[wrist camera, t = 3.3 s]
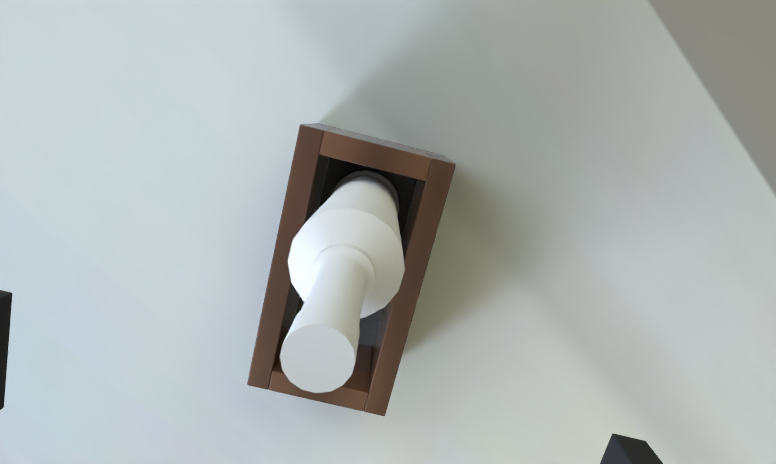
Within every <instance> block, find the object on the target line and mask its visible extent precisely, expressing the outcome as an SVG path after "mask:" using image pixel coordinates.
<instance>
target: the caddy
mask: <svg viewBox="0 0 776 464" xmlns="http://www.w3.org/2000/svg"><path fill="white" fill-rule="evenodd" d="M330 157H331V158H335V159H339V160H343V161H347V162H351V163H355V164H359V165H363V166H367V167H371V168H375V169H379V170H383V171H387V172H390V173H394V174H398V175H402V176H406V177H410V178H414V179H417V182H416V186H415V190H414V193H413V197H412V201H411V205H410V208H409V212H408V216H407V220H406V223H405V227H404V231H403V235H402V239H401V243H402V250H403V258H404V266H405V271H404V274H403V278H402V281H401V284H400V288H399V291H398V292H397V293H396V294H395V295H394V297H393V298H392V299H391V300H390V301H389V303H388V304H387V305H386V306H385V307H384V308H383V310H382V314H381V318H380V321H379V325H378V329H377V333H376V336H375V340H374V344H373V348H372V347H371V346H367V345H362V344H358V348H357V355H356V361H355V365H354V369H353V372H352V375H351V376H350V377H349V379H348V380H347V381H346V382H345V383H344V385H342V386H340V387H338V388H336V389H335V390H333V391H331V392H322V393H314V392H310V391H306V390H302V389H300V388H299V387H297V386H296V385H295V384H293V383H292V382H290V381H289V379H288V378H287V376H286V375H285V373H284V372H283V370H282V366H281V361H280V353H281V349H282V345H283V342H284V340H285V338H286V336H287V334H288V332H289V330H290V328H291V326H292V324H293V321H294V319H295V314H296V310H297V305H298V301H299V296H300V295H299V294H298V292H297V290H296V289H295V287H294V286H293V284H292V283H291V277H290V271H289V266H288V258H289V253H290V249H291V245H292V241H293V239H294V237H295V236H296V235H297V233H298V232H299V231H300V230H301V228H302V227H303V226H304V224H305V223H306V222H307V221H308V220H309V218H310V217H311V216H312V215H313V214H314V213H315V212H316V211H317V210H318V209H319V206H320V201H321V197H322V192H323V188H324V183H325V179H326V174H327V170H328V165H329V161H330ZM454 168H455V163H453V162H452V161H451V160H449V159H448V158H446V157H445V156H444V155H440V154H436V153H433V152H429V151H424V150H421V149H417V148H413V147H409V146H405V145H401V144H397V143H393V142H389V141H386V140H382V139H378V138H374V137H370V136H366V135H362V134H358V133H354V132H350V131H346V130H342V129H339V128H335V127H331V126H327V125H323V124H319V123H315V124H301V125H300V127H299V132H298V137H297V142H296V147H295V152H294V157H293V161H292V166H291V171H290V176H289V181H288V186H287V191H286V196H285V201H284V206H283V210H282V215H281V220H280V225H279V230H278V235H277V240H276V245H275V250H274V255H273V259H272V264H271V269H270V274H269V279H268V284H267V289H266V294H265V299H264V304H263V308H262V313H261V318H260V323H259V328H258V333H257V338H256V343H255V348H254V353H253V358H252V362H251V367H250V372H249V377H248V382H247V385H250V386H254V387H259V388H263V389H268V388H269V390H272V391H276V392H281V393H285V394H289V395H294V396H298V397H303V398H307V399H311V400H316V401H320V402H325V403H329V404H333V405H338V406H342V407H347V408H351V409H355V410H360V411H364V412H368V413H373V414H377V415H381V416H385V413H386V410H387V406H388V403H389V399H390V395H391V392H392V388H393V385H394V381H395V378H396V374H397V371H398V367H399V364H400V360H401V356H402V353H403V349H404V346H405V342H406V339H407V335H408V332H409V328H410V325H411V321H412V317H413V314H414V310H415V307H416V303H417V300H418V296H419V293H420V289H421V286H422V282H423V278H424V275H425V271H426V268H427V264H428V261H429V257H430V254H431V250H432V246H433V243H434V239H435V236H436V232H437V229H438V225H439V222H440V218H441V215H442V211H443V207H444V204H445V200H446V197H447V193H448V190H449V186H450V183H451V179H452V176H453V172H454Z"/></svg>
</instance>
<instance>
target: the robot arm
mask: <svg viewBox="0 0 776 464" xmlns="http://www.w3.org/2000/svg"><path fill="white" fill-rule="evenodd" d="M11 303H12V293H10V292H6V291H2V290H0V410H1V409H2V408H3V407H4V396H5V382H6V369H7V356H8V343H9V329H10V316H11ZM600 464H663V463H662V462H661V460H660V459H659V458H658V457H657V455H656V454H655V453H654V451H653V450H652V449H651V448H650V446H649V445H648V444H647V442H646V441H643V440H638V439H634V438H630V437H626V436H621V435H617V434H613V433H612V436H611V438H610V441H609V443H608V446H607V448H606V451H605V453H604V455H603V458H602V460H601V463H600Z"/></svg>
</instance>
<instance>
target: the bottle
mask: <svg viewBox="0 0 776 464" xmlns="http://www.w3.org/2000/svg"><path fill="white" fill-rule="evenodd" d="M398 212H399V200H398V194H397V192H396V190H395V188H394V187H393V185H392V183H391V182H390V181H389V180H388V179H387V178H385V177H384V176H383V175H381V174H380V173H376V172H373V171H369V170H364V171H356V172H352V173H351V174H349V175H347V176H346V177H344V178H342V179H341V180H340V182H339V183H338V184H337V185H336V187H335V188H334V189H333V192H332V195H331V196H330V197H329V198H328V200H327V201H326V202H325V203H324V204H323V205H322V206H321V207H320V208H319V209H318V210H317V211H316V212H315V213H314V214H313V215H312V216H311V217H310V218H309V220H308V221H307V222H306V223H305V224H304V226H303V227H302V228H301V230H300V231H299V232H298V233H297V235H296V236H295V237H294V239H293V241H292V245H291V249H290V253H289V258H288V266H289V271H290V277H291V283H292V284H293V286H294V287H295V289H296V290H297V292H298V294H299V295H300V297H301V298H302V300H303V301H304V304H303V307H302V309H301V310H300V312H299V313H298V314H297V315H296V317H295V319H294V321H293V324H292V326H291V328H290V330H289V332H288V334H287V336H286V338H285V340H284V342H283V345H282V349H281V353H280V361H281V366H282V370H283V372H284V373H285V375H286V376H287V378H288V379H289V381H290V382H292V383H293V384H295V385H296V386H297V387H299V388H300V389H302V390H306V391H310V392H314V393H322V392H331V391H333V390H335V389H336V388H338V387H340V386H342V385H344V383H345V382H346V381H347V380H348V379H349V377H350V376H351V375H352V372H353V369H354V365H355V361H356V355H357V348H358V341H359V334H360V330H359V323H360V318H364V317H367V316H369V315H371V314H373V313H375V312H377V311H378V310H380V309H382V308H384V307H385V306H386V305H387V304H388V303H389V301H390V300H391V299H392V298H393V297H394V295H395V294H396V293H397V292H398V291H399V288H400V284H401V281H402V278H403V274H404V271H405V266H404V258H403V250H402V243H401V237H400V231H399V224H398V218H397V215H398Z"/></svg>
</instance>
